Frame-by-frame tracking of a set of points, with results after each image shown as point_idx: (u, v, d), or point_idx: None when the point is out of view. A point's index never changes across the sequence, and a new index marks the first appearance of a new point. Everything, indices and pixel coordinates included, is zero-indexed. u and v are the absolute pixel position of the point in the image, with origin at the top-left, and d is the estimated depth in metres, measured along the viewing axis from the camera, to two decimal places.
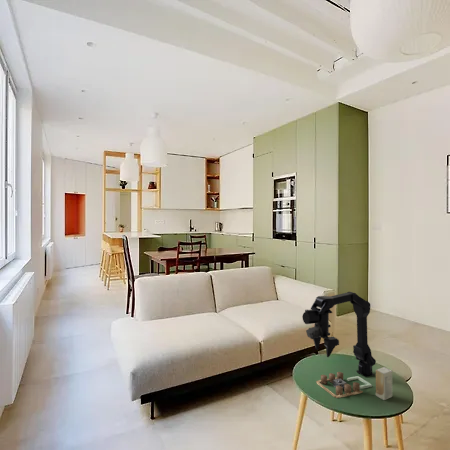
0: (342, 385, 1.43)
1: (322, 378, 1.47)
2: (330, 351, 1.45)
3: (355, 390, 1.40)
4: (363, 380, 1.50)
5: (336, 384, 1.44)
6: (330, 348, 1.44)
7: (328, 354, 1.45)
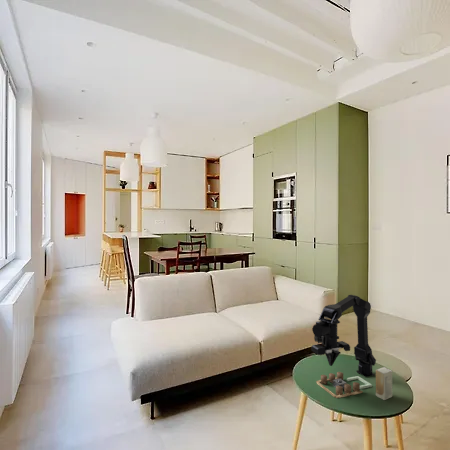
0: (342, 385, 1.43)
1: (322, 378, 1.47)
2: (329, 360, 1.42)
3: (355, 390, 1.40)
4: (363, 380, 1.50)
5: (336, 384, 1.44)
6: (329, 356, 1.42)
7: (329, 362, 1.43)
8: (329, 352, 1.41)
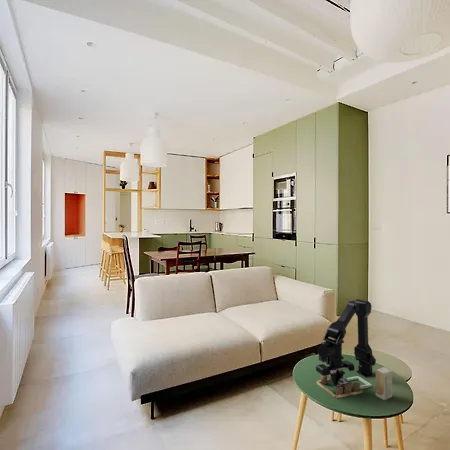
0: None
1: (322, 378, 1.47)
2: (333, 380, 1.43)
3: (355, 390, 1.40)
4: (363, 380, 1.50)
5: (338, 384, 1.44)
6: (333, 376, 1.43)
7: (333, 382, 1.44)
8: (334, 372, 1.41)
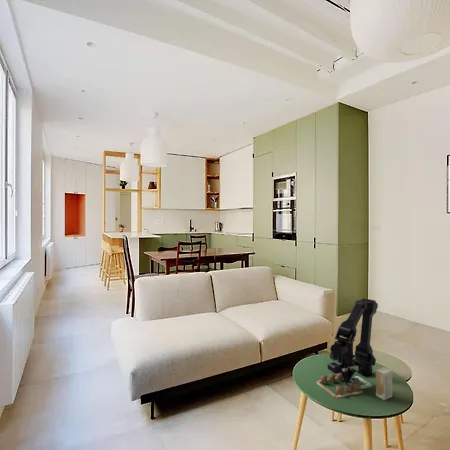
0: None
1: (322, 378, 1.47)
2: (345, 378, 1.45)
3: (355, 390, 1.40)
4: (363, 380, 1.50)
5: (349, 381, 1.46)
6: (345, 374, 1.45)
7: (344, 380, 1.46)
8: (345, 370, 1.44)
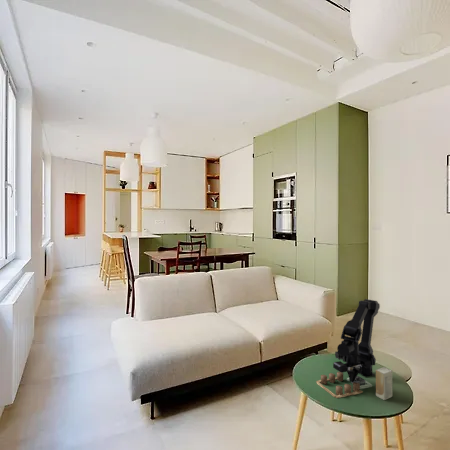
0: (361, 382, 1.46)
1: (322, 378, 1.47)
2: (350, 376, 1.46)
3: (355, 390, 1.40)
4: None
5: (354, 381, 1.47)
6: (350, 373, 1.47)
7: (350, 379, 1.47)
8: (351, 369, 1.45)
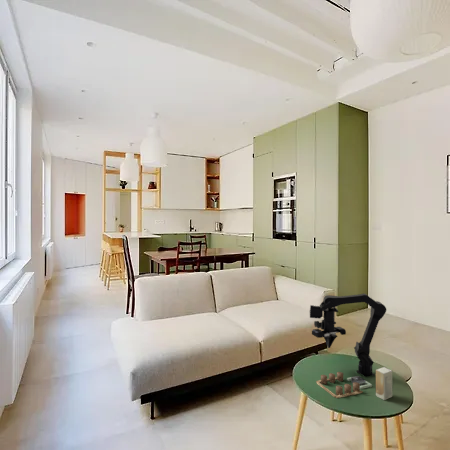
0: (360, 382, 1.46)
1: (322, 378, 1.47)
2: (327, 342, 1.63)
3: (355, 390, 1.40)
4: None
5: (354, 381, 1.47)
6: (327, 339, 1.63)
7: (327, 344, 1.63)
8: (327, 335, 1.61)
